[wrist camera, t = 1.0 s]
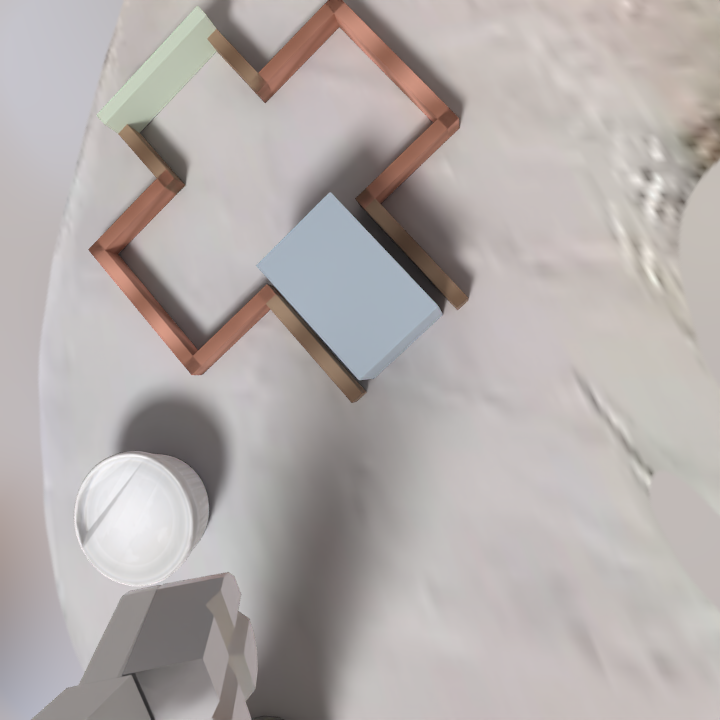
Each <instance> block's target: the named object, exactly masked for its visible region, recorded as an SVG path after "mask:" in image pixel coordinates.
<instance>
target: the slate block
mask: <svg viewBox="0 0 720 720" xmlns="http://www.w3.org/2000/svg"><path fill="white" fill-rule="evenodd" d="M256 266H257V267H258V268H259V269H260V271H261V272H262V273H263V274H264V275H265V276H266V277H267V278H268V279H269V281H270V282H271V283H272V284H273V285H274V286H275V287H276V288H277V290H278V291H279V292H280V293H281V294H282V295H283V296H284V297H285V298H286V300H287V301H288V302H289V303H290V304H291V305H292V306H293V307H294V308H295V310H296V311H297V312H298V313H299V314H300V315H301V316H302V317H303V318H304V320H305V321H306V322H307V323H308V324H309V325H310V326H311V327H312V329H313V330H314V331H315V332H316V333H317V334H318V335H319V336H320V337H321V339H322V340H323V341H324V342H325V343H326V344H327V345H328V346H329V347H330V349H331V350H332V351H333V352H334V353H335V354H336V355H337V356H338V358H339V359H340V360H341V361H342V362H343V363H344V364H345V365H346V366H347V368H348V369H349V370H350V371H351V372H352V373H353V374H354V375H355V376H356V378H357V379H358V380H366V379H374V378H375V377H376V376H377V375H379V374H380V373H381V372H382V371H383V370H384V369H385V368H386V367H387V366H388V365H389V364H390V363H391V362H393V361H394V360H395V359H396V358H397V357H398V356H399V355H400V354H401V353H402V352H403V351H404V350H405V349H407V348H408V347H409V346H410V345H411V344H412V343H413V342H414V341H415V340H416V339H417V338H418V337H419V336H421V335H422V334H423V333H424V332H425V331H426V330H427V329H428V328H429V327H430V326H431V325H432V324H434V323H435V322H436V321H437V320H438V319H439V318H440V317H441V316H442V315H443V314H442V312H441V310H440V308H439V306H438V305H437V304H436V303H435V302H434V301H433V300H432V299H431V298H430V297H429V296H428V295H427V294H426V292H425V291H424V290H423V289H422V288H421V287H420V286H419V285H418V284H417V283H416V282H415V281H414V280H413V279H412V278H411V277H410V276H409V275H408V273H407V272H406V271H405V270H404V269H403V268H402V267H401V266H400V265H399V264H398V263H397V262H396V261H395V260H394V259H393V258H392V257H391V255H390V254H389V253H388V252H387V251H386V250H385V249H384V248H383V247H382V246H381V245H380V244H379V243H378V242H377V241H376V240H375V239H374V238H373V236H372V235H371V234H370V233H369V232H368V231H367V230H366V229H365V228H364V227H363V226H362V225H361V224H360V223H359V222H358V221H357V220H356V218H355V217H354V216H353V215H352V214H351V213H350V212H349V211H348V210H347V209H346V208H345V207H344V206H343V205H342V204H341V203H340V202H339V201H338V199H337V198H336V197H335V196H334V195H333V194H332V193H331V192H329V193H328V194H327V195H326V196H325V197H324V198H323V199H322V200H321V201H320V202H319V203H318V204H317V205H316V206H315V207H314V208H313V209H312V210H311V211H310V212H309V213H308V214H307V215H306V216H305V217H304V218H303V219H302V220H301V221H300V222H299V223H298V224H297V225H296V226H295V227H294V228H293V229H292V230H291V231H290V232H289V233H288V234H287V235H286V236H285V237H284V238H283V239H282V240H281V241H280V242H279V243H278V244H277V245H276V246H275V247H274V248H273V249H272V250H271V251H270V252H269V253H268V254H267V255H266V256H265V257H264V258H263V259H262V260H261V261H260V262H259V263H258V264H257V265H256Z"/></svg>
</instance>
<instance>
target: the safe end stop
mask: <svg viewBox="0 0 720 720" xmlns="http://www.w3.org/2000/svg"><path fill="white" fill-rule="evenodd" d="M215 30H216V27H215V26H214V25H213V23H212V22H211V21H210V19H209V18H208V17H207V15H206V14H205V13H204V12H203V11H202V10H201V9H200V8H199V7H198V6H197V7H196V8H195V9H194V10H193V11H192V12H191V13H190V14H189V15H188V16H187V17H186V19H185V20H184V21H183V22H182V23H181V24H180V25H179V26H178V27H177V28H176V29H175V30H174V32H173V33H172V34H171V35H170V36H169V37H168V38H167V39H166V40H165V41H164V42H163V43H162V45H161V46H160V47H159V48H158V49H157V50H156V51H155V52H154V53H153V54H152V55H151V56H150V58H149V59H148V60H147V61H146V62H145V63H144V64H143V65H142V66H141V67H140V68H139V69H138V71H137V72H136V73H135V74H134V75H133V76H132V77H131V78H130V79H129V80H128V81H127V82H126V84H125V85H124V86H123V87H122V88H121V89H120V90H119V91H118V92H117V93H116V94H115V95H114V97H113V98H112V99H111V100H110V101H109V102H108V103H107V104H106V105H105V106H104V107H103V108H102V109H101V111H100V112H99V113H98V114H97V117H98V118H99V119H100V120H101V121H102V122H103V124H104V125H106V126H107V127H109V128H110V129H112V130H113V131H115V132H116V133H119V132H120V131H121V130H122V129H123V128H124V127H125V126H126V125H127V124H128V125H129V126H130V127H132V128H133V129H135V130H136V131H137V132H139V133H140V132H141V131H142V130H143V129H144V128H145V127H146V126H147V125H148V124H149V123H150V122H151V120H152V119H153V118H154V117H155V116H156V115H157V114H158V113H159V112H160V111H161V110H162V109H163V108H164V107H165V106H166V105H167V103H168V102H169V101H170V100H171V99H172V98H173V97H174V96H175V95H176V94H177V93H178V92H179V91H180V90H181V89H182V88H183V87H184V85H185V84H186V83H187V82H188V81H189V80H190V79H191V78H192V77H193V76H194V75H195V74H196V73H197V72H198V71H199V70H200V68H201V67H202V66H203V65H204V64H205V63H206V62H207V61H208V60H209V59H210V58H211V57H212V56H213V55H214V54H215V53H216V50H215V48H214V47H213V46H212V45H211V43H210V42H209V41H208V40H207V38H208V37H209V36H210V35H211V34H212V33H213V32H214V31H215Z"/></svg>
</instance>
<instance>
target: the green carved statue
mask: <svg viewBox="0 0 720 720" xmlns="http://www.w3.org/2000/svg"><path fill="white" fill-rule="evenodd" d="M251 720H283V719H281V718H278V717H269V716H262V717H258V718H254V719H251Z"/></svg>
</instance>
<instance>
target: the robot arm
mask: <svg viewBox="0 0 720 720" xmlns="http://www.w3.org/2000/svg"><path fill="white" fill-rule="evenodd" d="M240 598H241V592H240V590H239V587H238V584H237V582H236V579H235V576H233V575H232V574H231V573H229V572H227V573H221V574H216V575H210V576H205V577H199V578H194V579H188V580H183V581H177V582H172V583H166V584H163V585H156V586H151V587H146V588H141V589H136V590H131V591H129V592H128V593H126V594H125V595H123V596H122V597H121V599H120V601H119V603H118V605H117V607H116V609H115V611H114V613H113V616H112V618H111V620H110V622H109V624H108V626H107V628H106V630H105V632H104V634H103V636H102V638H101V640H100V642H99V644H98V646H97V648H96V650H95V652H94V654H93V656H92V659H91V661H90V663H89V665H88V667H87V669H86V671H85V673H84V675H83V677H82V679H81V681H80V684H79V685H78V686H74V687H69V688H66V689H65V690H64V691H63V692H62V693H61V694H60V695H58V696H57V697H56V698H55V699H54V700H53V701H52V702H51V703H49V704H48V705H47V706H46V707H45V708H44V709H43V710H42V711H41V712H39V713H38V714H37V715H36V716H35V717H34V718H33V719H32V720H251V716H250V713H249V710H248V707H247V704H246V700H247V699H248V698H249V697H250V695H251V694H252V693H253V692H254V690H255V689H256V681H257V673H258V662H257V646H256V641H255V635H254V631H253V628H252V625H251V622H250V619H249V618H248V617H246V616H245V615H243V614H242V613H241V612H239V611H238V609H239V604H240Z"/></svg>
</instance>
